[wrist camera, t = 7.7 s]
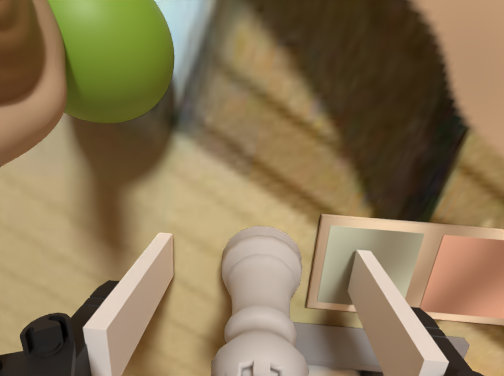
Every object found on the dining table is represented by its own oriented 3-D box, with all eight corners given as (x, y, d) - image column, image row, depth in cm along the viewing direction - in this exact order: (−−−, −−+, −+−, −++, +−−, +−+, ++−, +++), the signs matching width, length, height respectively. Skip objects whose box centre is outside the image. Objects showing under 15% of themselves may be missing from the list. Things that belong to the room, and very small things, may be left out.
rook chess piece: (287, 296, 16) (307, 465, 9) (216, 278, 16) (173, 435, 9) (311, 233, 15) (358, 369, 7) (233, 213, 15) (200, 331, 7)
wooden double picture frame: (306, 303, 16) (307, 307, 16) (321, 213, 15) (322, 216, 14) (505, 321, 16) (510, 326, 16) (546, 232, 14) (553, 235, 14)
